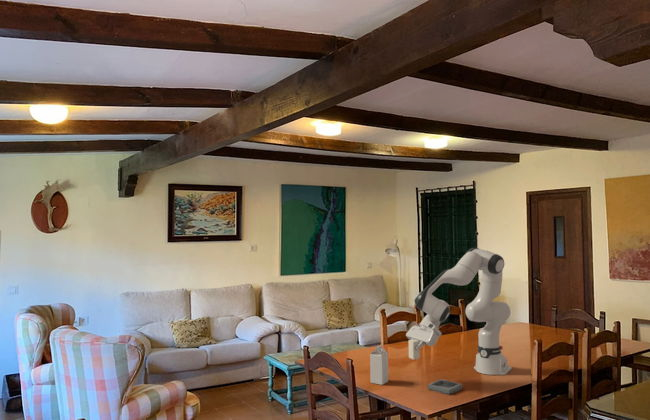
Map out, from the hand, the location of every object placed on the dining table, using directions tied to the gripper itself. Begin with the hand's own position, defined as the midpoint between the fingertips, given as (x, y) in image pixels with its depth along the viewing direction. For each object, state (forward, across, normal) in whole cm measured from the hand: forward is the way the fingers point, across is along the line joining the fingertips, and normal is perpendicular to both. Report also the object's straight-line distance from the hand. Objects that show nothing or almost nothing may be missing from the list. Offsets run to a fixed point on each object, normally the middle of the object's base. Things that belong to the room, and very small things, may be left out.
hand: (413, 348), depth 252 cm
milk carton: (+22, -14, +5) cm, 27 cm away
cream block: (+3, 0, +4) cm, 5 cm away
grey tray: (+6, +12, +21) cm, 25 cm away
